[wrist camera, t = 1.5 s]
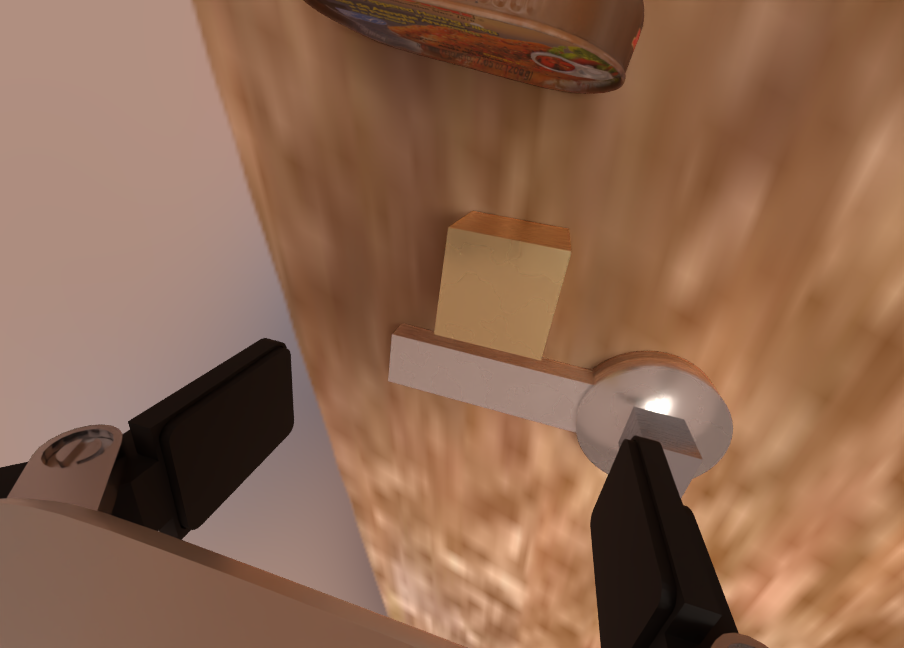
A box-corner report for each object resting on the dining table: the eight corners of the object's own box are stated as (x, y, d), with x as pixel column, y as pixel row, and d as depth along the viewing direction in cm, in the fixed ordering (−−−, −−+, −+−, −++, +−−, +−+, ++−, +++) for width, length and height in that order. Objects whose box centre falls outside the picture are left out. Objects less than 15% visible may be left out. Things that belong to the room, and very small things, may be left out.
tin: (351, 36, 22) (244, -22, 15) (358, -33, 21) (245, -138, 13) (608, 106, 20) (635, 78, 13) (635, 34, 19) (683, -42, 12)
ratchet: (405, 292, 28) (368, 325, 23) (743, 370, 24) (795, 432, 19) (395, 393, 32) (362, 441, 26) (685, 474, 28) (714, 549, 23)
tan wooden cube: (472, 210, 24) (448, 227, 19) (569, 228, 23) (571, 251, 18) (459, 298, 27) (433, 334, 22) (545, 318, 26) (540, 360, 21)
